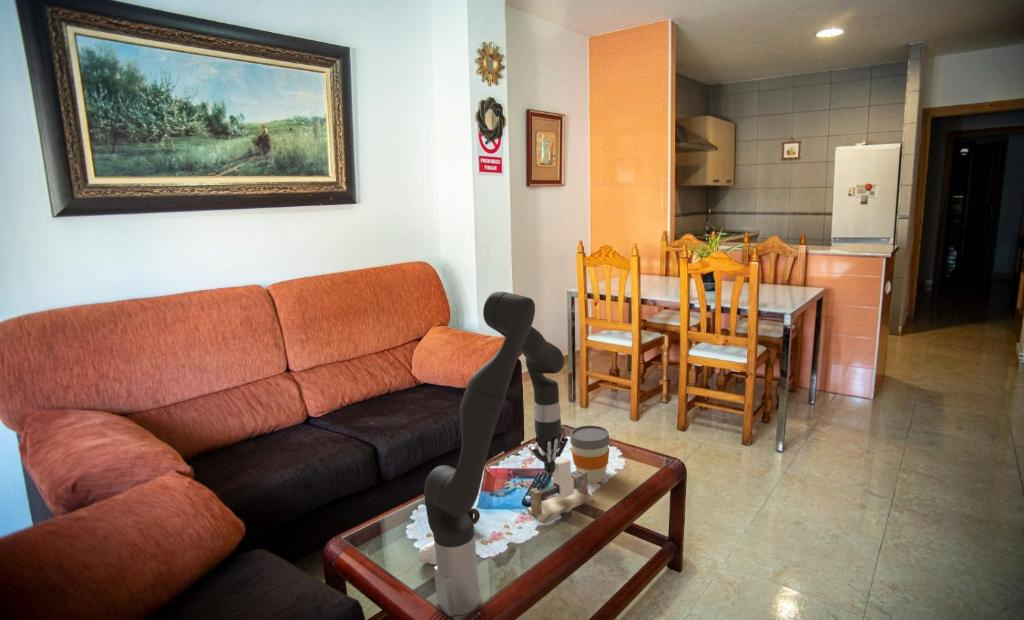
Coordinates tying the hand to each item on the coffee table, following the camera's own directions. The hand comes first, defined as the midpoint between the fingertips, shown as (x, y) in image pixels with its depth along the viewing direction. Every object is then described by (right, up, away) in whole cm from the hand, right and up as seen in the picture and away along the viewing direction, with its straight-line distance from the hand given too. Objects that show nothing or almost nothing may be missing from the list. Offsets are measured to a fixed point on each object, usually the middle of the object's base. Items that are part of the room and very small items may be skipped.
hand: (550, 472), depth 175 cm
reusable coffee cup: (+15, -7, +20) cm, 26 cm away
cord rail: (+3, -11, +4) cm, 12 cm away
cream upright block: (+4, -7, +4) cm, 9 cm away
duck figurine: (-29, -18, -18) cm, 39 cm away
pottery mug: (-25, -15, -3) cm, 29 cm away
